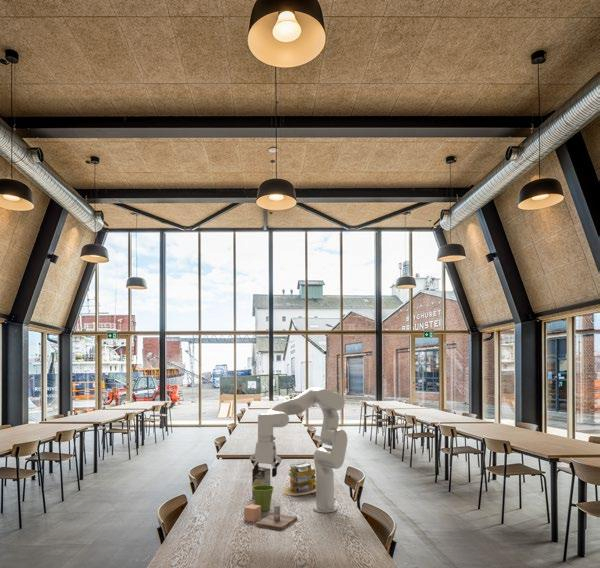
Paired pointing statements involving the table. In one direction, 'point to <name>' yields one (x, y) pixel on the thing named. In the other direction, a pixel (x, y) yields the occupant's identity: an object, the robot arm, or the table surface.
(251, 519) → the salmon orange cube
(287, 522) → the post board
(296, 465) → the plate with layered stack
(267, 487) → the plant pot
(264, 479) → the coffee box
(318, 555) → the table surface
